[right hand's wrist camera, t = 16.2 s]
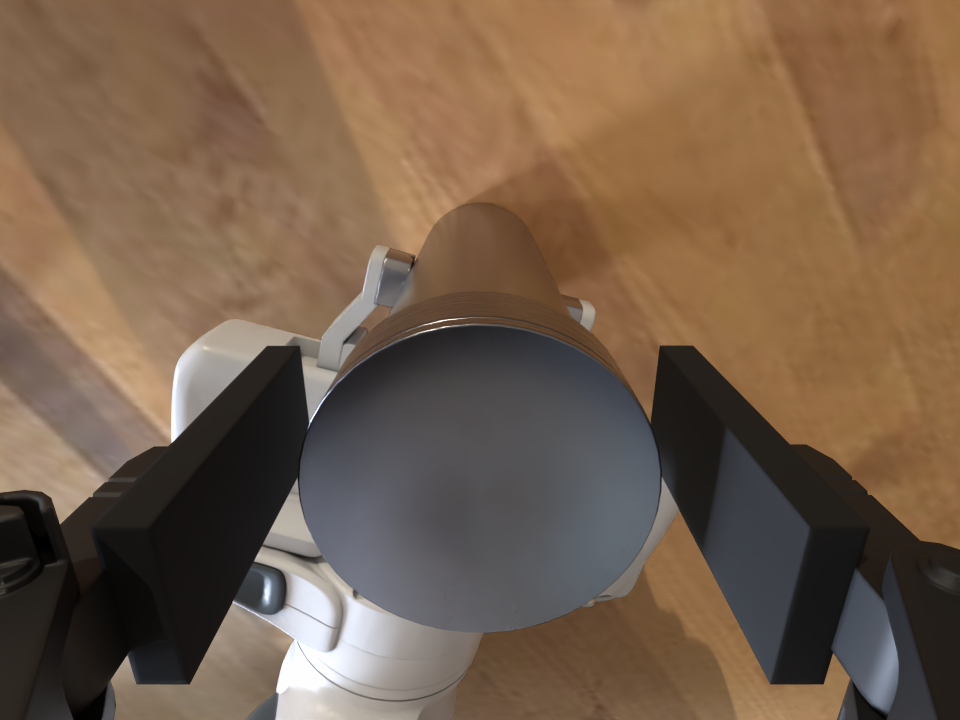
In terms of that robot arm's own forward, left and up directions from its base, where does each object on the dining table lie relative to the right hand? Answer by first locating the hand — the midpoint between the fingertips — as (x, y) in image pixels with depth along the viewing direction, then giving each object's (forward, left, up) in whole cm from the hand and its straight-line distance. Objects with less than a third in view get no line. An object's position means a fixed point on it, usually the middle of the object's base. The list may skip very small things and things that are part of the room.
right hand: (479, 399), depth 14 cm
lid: (0, 0, +4) cm, 4 cm away
